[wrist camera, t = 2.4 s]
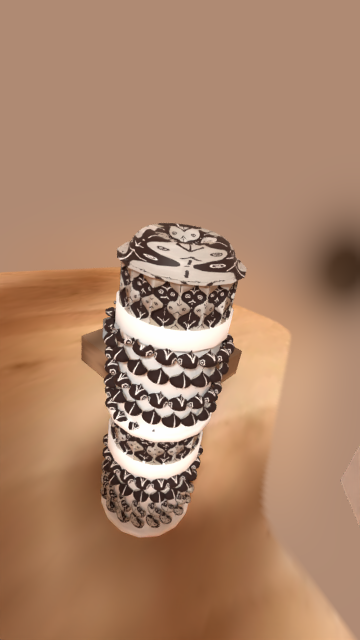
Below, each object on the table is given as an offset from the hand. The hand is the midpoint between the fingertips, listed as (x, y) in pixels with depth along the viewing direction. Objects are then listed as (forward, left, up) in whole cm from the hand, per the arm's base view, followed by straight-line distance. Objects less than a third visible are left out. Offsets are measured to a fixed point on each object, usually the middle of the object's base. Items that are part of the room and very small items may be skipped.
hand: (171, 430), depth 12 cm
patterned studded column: (-8, +9, -22) cm, 25 cm away
